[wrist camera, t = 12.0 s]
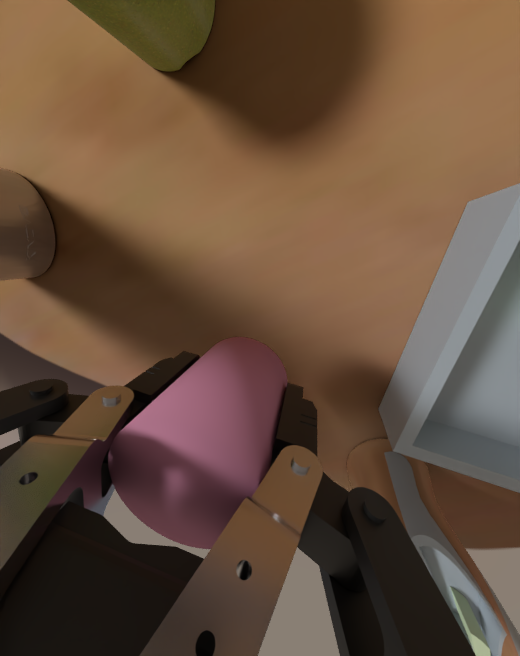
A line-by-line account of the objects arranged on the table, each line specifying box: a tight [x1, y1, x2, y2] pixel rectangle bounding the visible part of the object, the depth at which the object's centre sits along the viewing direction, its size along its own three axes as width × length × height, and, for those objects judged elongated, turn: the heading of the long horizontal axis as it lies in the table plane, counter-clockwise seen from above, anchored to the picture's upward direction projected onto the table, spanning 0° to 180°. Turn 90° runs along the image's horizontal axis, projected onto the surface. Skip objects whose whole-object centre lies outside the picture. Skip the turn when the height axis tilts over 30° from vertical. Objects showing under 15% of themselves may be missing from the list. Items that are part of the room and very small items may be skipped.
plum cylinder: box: [108, 337, 287, 549], centre depth 9 cm, size 4×4×6 cm
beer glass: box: [347, 439, 520, 656], centre depth 13 cm, size 7×7×15 cm
